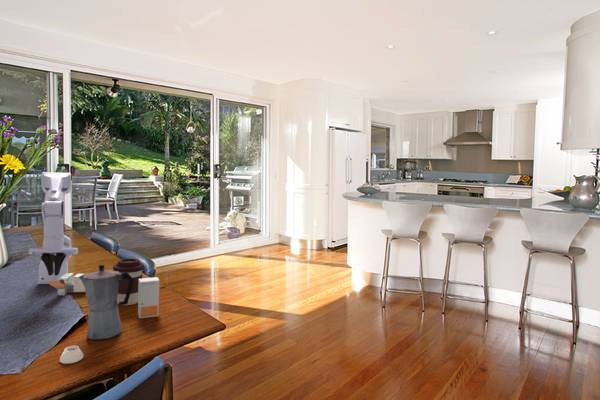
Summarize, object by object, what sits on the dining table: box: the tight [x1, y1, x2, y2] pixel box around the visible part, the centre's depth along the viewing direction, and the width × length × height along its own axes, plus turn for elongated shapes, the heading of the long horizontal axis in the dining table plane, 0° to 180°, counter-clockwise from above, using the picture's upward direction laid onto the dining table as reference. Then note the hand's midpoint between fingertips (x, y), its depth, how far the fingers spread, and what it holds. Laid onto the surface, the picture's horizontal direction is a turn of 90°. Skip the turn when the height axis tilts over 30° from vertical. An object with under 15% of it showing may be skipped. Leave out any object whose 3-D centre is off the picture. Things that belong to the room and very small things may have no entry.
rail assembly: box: [57, 272, 86, 295], centre depth 144 cm, size 18×8×6 cm, turn 101°
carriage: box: [74, 273, 85, 292], centre depth 144 cm, size 4×4×6 cm
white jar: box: [59, 345, 84, 365], centre depth 95 cm, size 5×3×5 cm
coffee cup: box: [112, 257, 145, 306], centre depth 135 cm, size 10×10×15 cm
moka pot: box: [78, 264, 134, 341], centre depth 109 cm, size 10×15×20 cm, turn 95°
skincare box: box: [137, 276, 160, 319], centre depth 124 cm, size 6×4×12 cm
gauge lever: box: [48, 281, 66, 290], centre depth 135 cm, size 3×8×1 cm, turn 11°
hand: (54, 274), depth 132 cm, fingers closed
